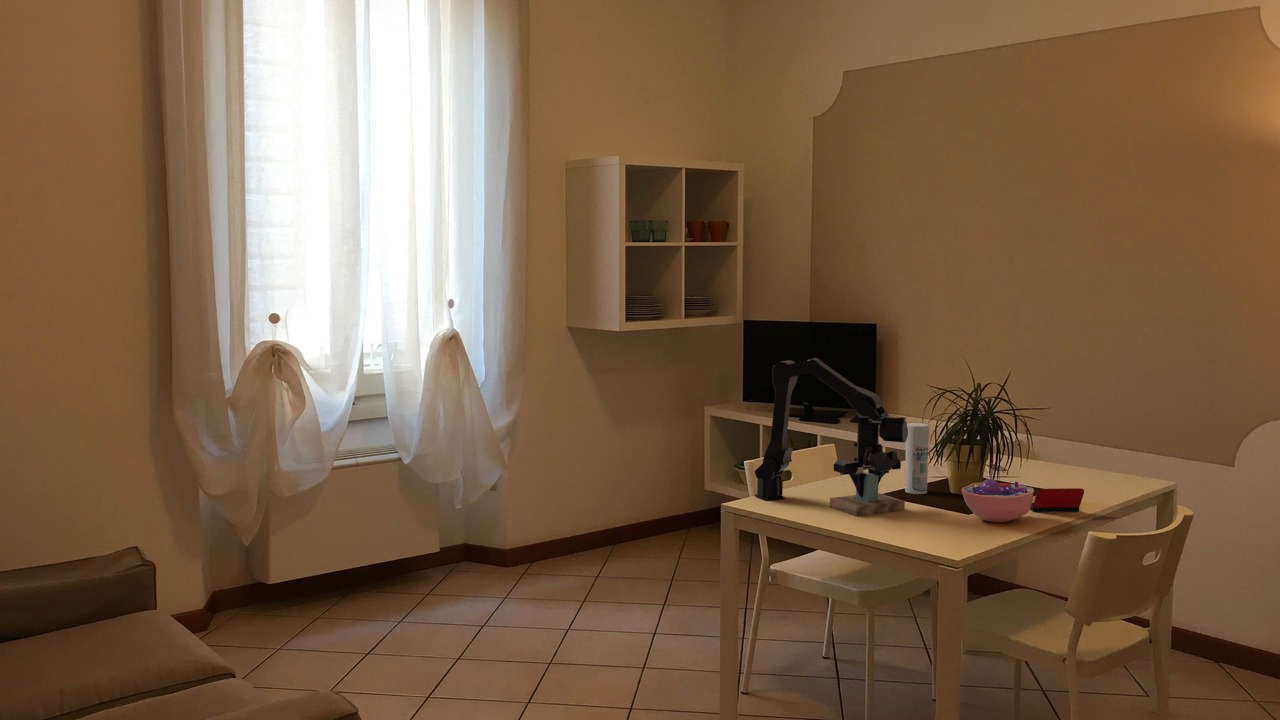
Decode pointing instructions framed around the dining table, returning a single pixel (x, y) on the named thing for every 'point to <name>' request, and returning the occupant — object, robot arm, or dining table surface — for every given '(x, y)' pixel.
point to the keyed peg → (869, 489)
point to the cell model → (998, 500)
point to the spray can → (916, 458)
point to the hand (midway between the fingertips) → (866, 496)
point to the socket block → (867, 505)
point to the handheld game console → (1057, 500)
